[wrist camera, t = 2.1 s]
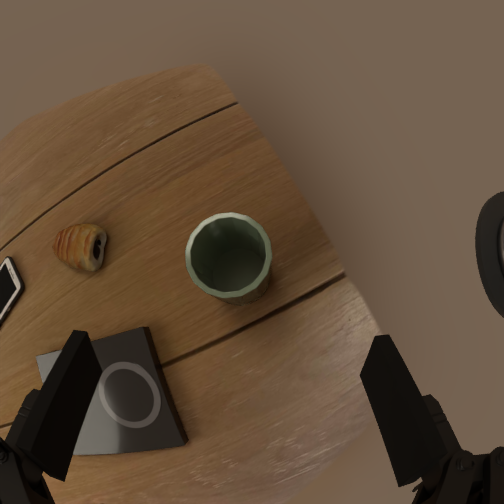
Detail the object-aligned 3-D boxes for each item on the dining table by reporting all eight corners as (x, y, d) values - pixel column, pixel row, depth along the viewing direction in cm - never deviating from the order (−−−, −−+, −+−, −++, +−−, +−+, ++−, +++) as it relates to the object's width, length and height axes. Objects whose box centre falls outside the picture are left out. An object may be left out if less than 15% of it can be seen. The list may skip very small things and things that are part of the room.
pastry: (55, 266, 39) (40, 261, 35) (64, 224, 40) (51, 216, 36) (102, 274, 38) (88, 268, 34) (111, 227, 40) (99, 218, 36)
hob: (148, 326, 36) (141, 326, 34) (189, 440, 32) (184, 446, 30) (43, 355, 35) (34, 356, 33) (76, 451, 32) (68, 455, 30)
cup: (277, 255, 37) (281, 224, 26) (260, 312, 36) (257, 308, 24) (220, 239, 38) (201, 204, 27) (202, 295, 37) (174, 282, 25)
